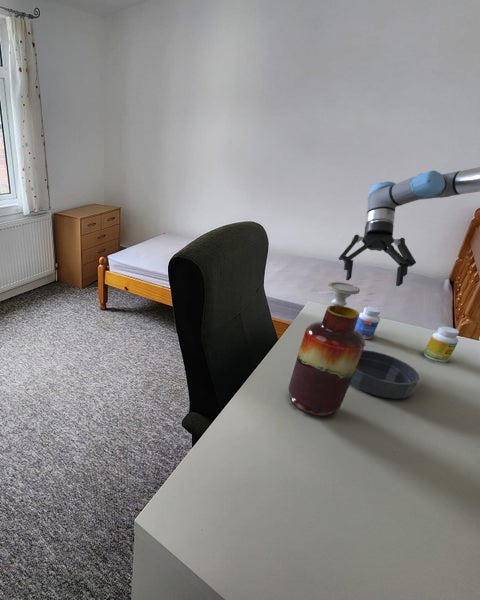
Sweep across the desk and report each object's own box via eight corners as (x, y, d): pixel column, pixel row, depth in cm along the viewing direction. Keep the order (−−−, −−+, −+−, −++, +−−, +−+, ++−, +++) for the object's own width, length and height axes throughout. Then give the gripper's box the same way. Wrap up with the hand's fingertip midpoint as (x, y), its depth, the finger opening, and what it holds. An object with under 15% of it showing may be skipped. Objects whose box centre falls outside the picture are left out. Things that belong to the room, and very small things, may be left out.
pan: (380, 364, 98) (387, 349, 96) (428, 400, 85) (436, 384, 82) (327, 364, 99) (332, 350, 97) (365, 400, 85) (372, 384, 83)
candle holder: (303, 337, 113) (320, 280, 104) (332, 338, 111) (352, 281, 103) (315, 351, 105) (335, 291, 96) (347, 353, 103) (369, 293, 95)
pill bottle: (356, 338, 111) (366, 312, 107) (349, 330, 116) (358, 304, 112) (376, 340, 110) (386, 313, 106) (367, 331, 115) (377, 306, 111)
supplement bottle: (428, 350, 104) (441, 323, 100) (451, 359, 100) (466, 331, 96) (419, 355, 102) (432, 327, 98) (442, 364, 98) (457, 336, 94)
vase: (347, 423, 78) (388, 325, 67) (294, 417, 80) (326, 320, 69) (325, 392, 88) (358, 301, 77) (279, 387, 90) (305, 298, 79)
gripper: (420, 233, 116) (415, 290, 112) (333, 227, 127) (325, 280, 123) (432, 222, 110) (428, 283, 105) (339, 217, 120) (332, 272, 116)
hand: (373, 281), depth 114 cm, fingers open, 13 cm apart
